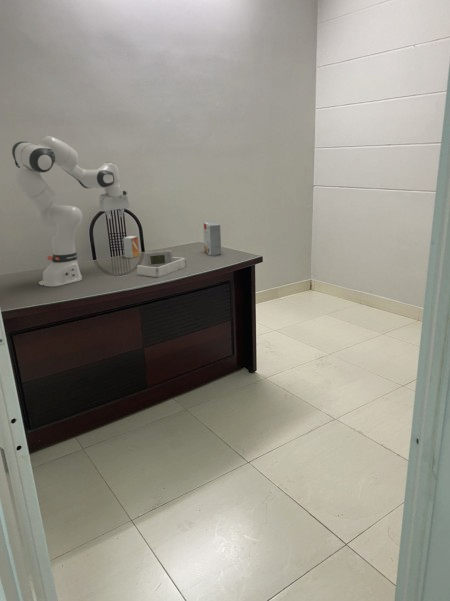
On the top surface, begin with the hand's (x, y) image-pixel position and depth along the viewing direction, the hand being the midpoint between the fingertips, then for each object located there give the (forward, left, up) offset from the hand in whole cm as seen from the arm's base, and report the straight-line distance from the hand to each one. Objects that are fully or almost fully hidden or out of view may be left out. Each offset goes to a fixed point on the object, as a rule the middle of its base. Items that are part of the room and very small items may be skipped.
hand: (115, 217), depth 242 cm
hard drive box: (+56, -30, -29) cm, 70 cm away
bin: (+4, -28, -29) cm, 41 cm away
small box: (+26, +14, -29) cm, 42 cm away
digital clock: (+4, -26, -29) cm, 39 cm away
